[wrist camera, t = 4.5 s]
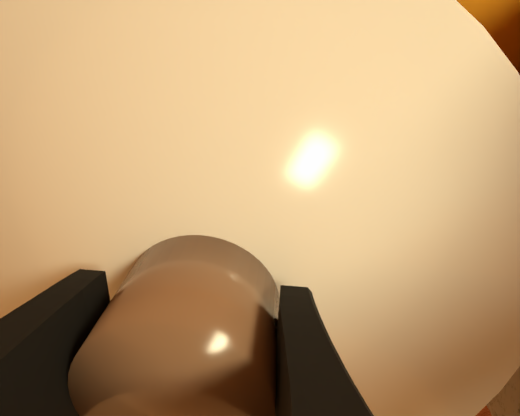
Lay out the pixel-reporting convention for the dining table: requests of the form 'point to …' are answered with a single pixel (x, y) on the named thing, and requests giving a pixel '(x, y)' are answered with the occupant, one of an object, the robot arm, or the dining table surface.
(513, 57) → the dining table surface
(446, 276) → the lid
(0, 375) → the robot arm
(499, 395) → the grey cylinder
